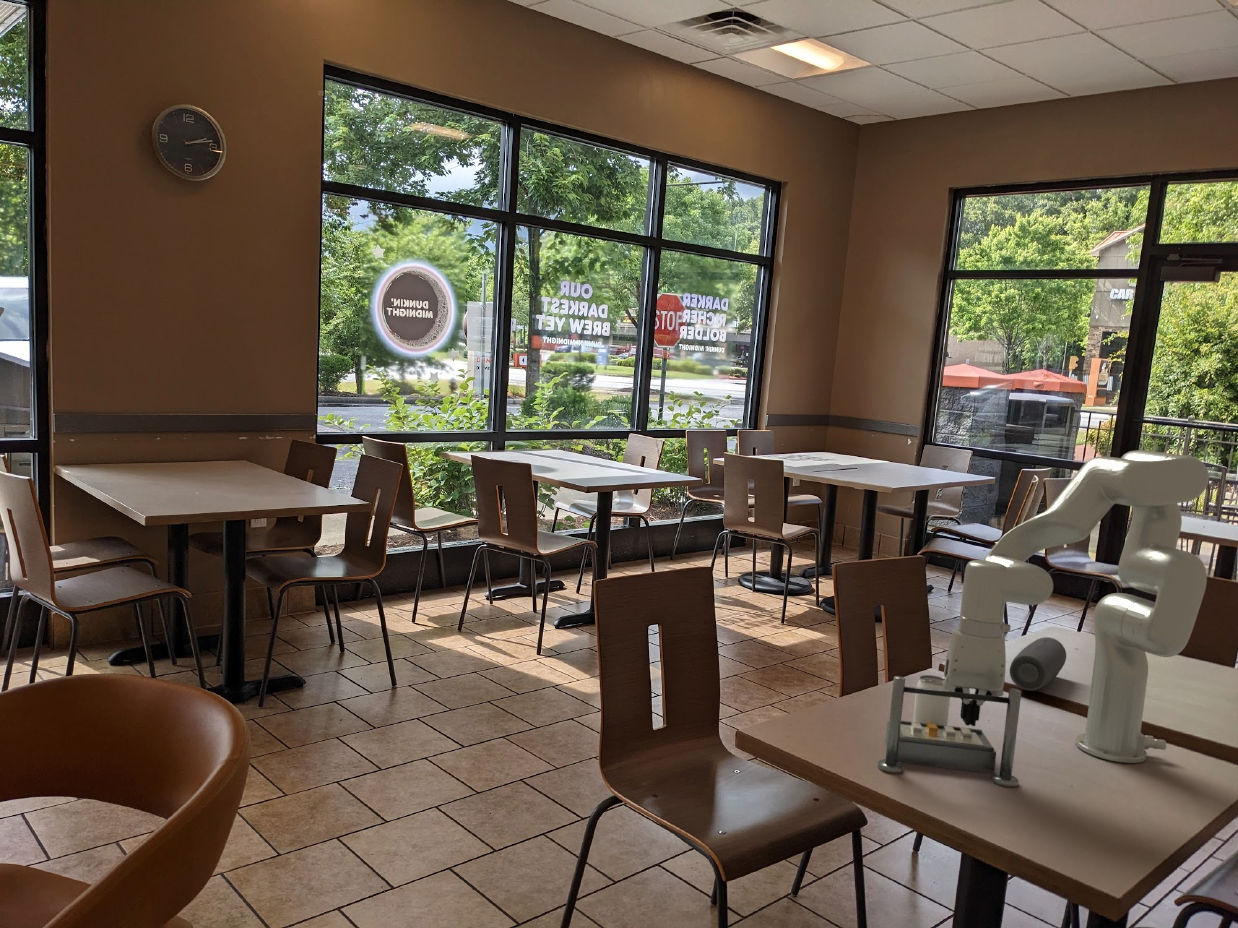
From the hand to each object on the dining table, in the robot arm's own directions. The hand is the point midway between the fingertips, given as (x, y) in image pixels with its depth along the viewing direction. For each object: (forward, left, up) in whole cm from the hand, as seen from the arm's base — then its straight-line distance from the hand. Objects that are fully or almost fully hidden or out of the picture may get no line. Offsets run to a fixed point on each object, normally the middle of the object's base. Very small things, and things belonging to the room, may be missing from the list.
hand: (968, 722), depth 178 cm
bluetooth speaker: (-29, -56, -8) cm, 63 cm away
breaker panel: (+5, -1, -7) cm, 9 cm away
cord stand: (+5, +8, -7) cm, 12 cm away
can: (+5, -10, -8) cm, 14 cm away
